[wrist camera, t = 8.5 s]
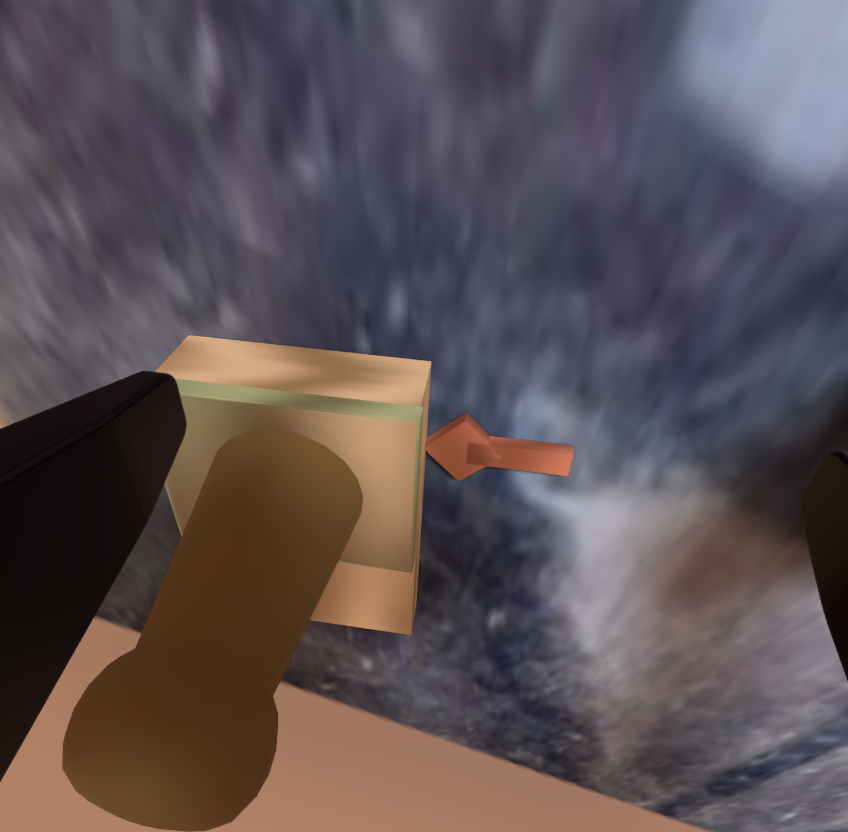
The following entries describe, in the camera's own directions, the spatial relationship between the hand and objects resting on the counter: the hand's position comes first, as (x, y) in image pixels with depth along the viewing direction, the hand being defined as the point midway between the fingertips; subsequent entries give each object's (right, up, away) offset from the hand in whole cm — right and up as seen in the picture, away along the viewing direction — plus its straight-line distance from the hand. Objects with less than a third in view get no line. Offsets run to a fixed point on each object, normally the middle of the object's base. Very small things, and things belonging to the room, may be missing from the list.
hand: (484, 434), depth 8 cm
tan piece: (-3, -4, +20) cm, 20 cm away
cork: (-6, -2, +15) cm, 16 cm away
